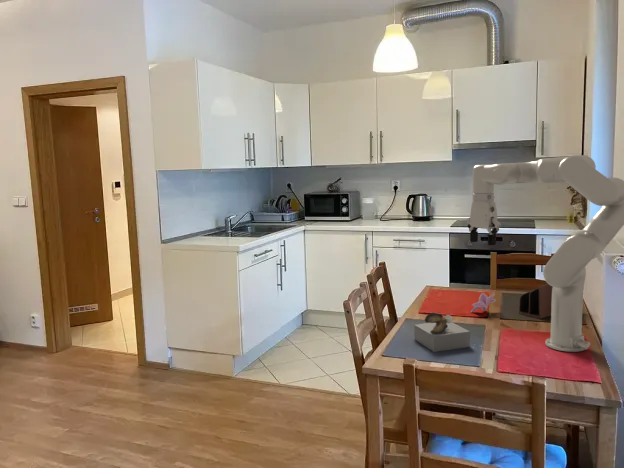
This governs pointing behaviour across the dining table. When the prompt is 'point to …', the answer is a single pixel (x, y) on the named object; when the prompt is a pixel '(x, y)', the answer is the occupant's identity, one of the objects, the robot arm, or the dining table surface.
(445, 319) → the eagle figurine
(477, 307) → the lily
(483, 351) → the dining table surface
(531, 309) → the letter holder
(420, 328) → the gray block
